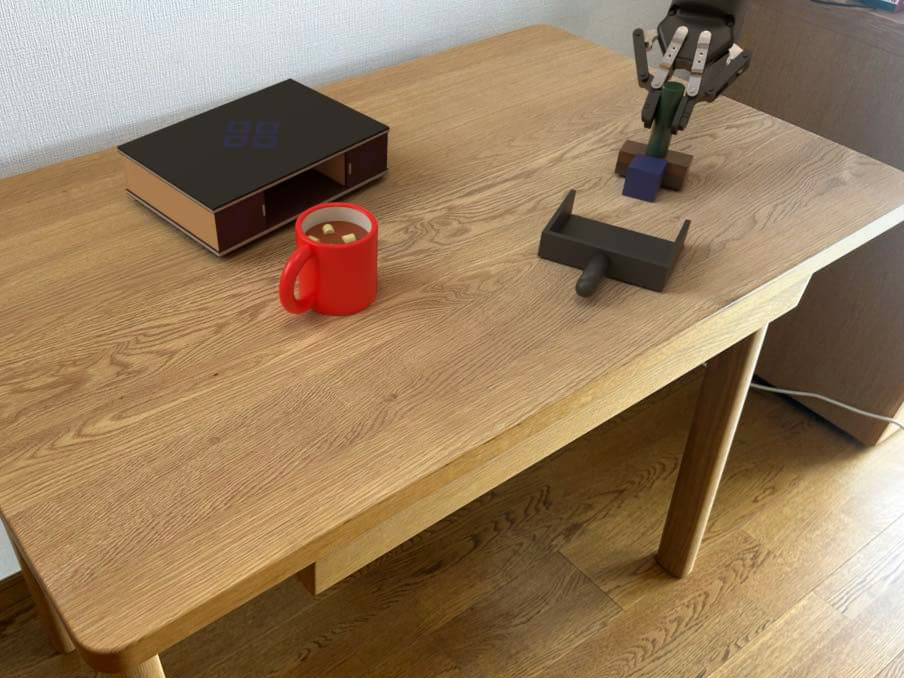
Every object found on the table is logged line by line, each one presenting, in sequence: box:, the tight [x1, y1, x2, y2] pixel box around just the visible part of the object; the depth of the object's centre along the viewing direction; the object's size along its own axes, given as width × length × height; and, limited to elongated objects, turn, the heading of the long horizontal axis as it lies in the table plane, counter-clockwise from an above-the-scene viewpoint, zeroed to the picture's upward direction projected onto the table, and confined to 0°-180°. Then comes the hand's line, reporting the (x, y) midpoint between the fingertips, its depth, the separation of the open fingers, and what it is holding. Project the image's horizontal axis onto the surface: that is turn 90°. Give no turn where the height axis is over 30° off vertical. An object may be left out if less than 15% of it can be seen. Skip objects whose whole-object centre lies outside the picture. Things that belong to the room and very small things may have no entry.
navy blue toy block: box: [621, 153, 668, 203], centre depth 100 cm, size 4×4×4 cm
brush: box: [613, 80, 695, 191], centre depth 99 cm, size 8×3×11 cm, turn 62°
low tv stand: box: [116, 77, 391, 258], centre depth 99 cm, size 17×25×7 cm
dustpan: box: [537, 188, 692, 299], centre depth 90 cm, size 16×13×3 cm
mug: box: [278, 201, 379, 316], centre depth 84 cm, size 8×12×8 cm, turn 144°
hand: (660, 128), depth 97 cm, fingers closed on brush, 2 cm apart
